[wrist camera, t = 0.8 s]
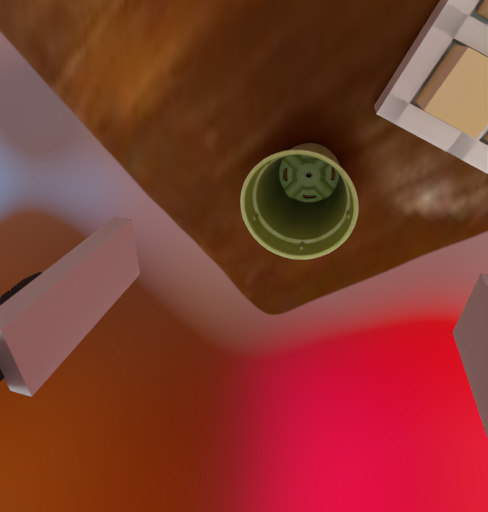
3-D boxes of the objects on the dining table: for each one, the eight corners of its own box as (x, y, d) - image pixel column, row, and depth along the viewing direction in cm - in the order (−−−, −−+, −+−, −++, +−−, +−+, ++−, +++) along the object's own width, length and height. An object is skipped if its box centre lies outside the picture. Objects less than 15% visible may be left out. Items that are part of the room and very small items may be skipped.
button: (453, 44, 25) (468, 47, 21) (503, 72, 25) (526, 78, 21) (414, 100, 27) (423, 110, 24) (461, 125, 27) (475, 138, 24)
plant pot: (267, 217, 39) (248, 258, 32) (257, 128, 34) (231, 154, 27) (356, 215, 36) (357, 260, 29) (358, 119, 32) (359, 145, 25)
